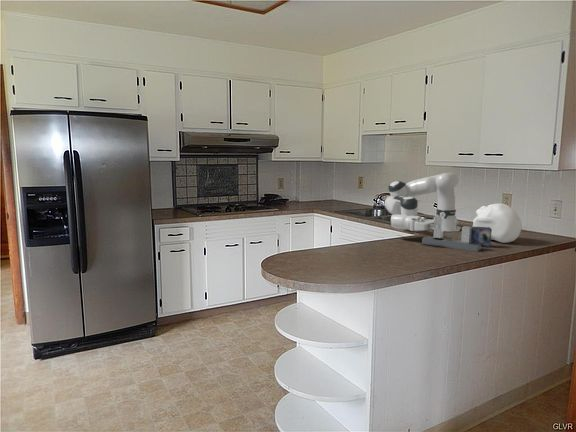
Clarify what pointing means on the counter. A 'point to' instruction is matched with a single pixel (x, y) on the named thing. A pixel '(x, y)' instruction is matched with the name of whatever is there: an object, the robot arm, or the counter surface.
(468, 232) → the rail
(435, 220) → the clip
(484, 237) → the small box
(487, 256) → the counter surface
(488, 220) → the head
